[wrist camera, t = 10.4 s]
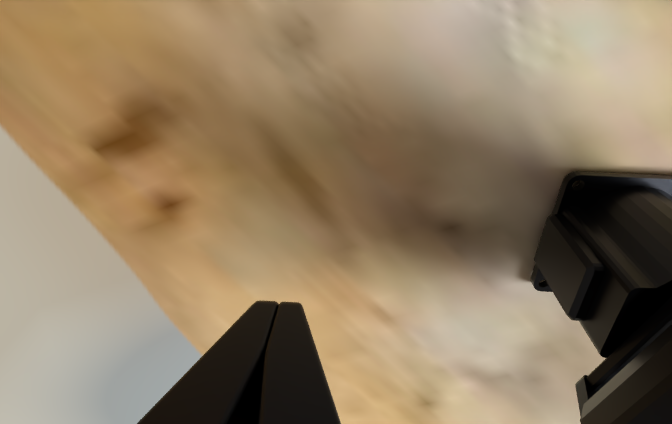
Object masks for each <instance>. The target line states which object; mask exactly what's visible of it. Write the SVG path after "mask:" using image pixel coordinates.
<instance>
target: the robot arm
mask: <svg viewBox="0 0 672 424" xmlns="http://www.w3.org/2000/svg"><path fill="white" fill-rule="evenodd" d="M577 180H580V183H579V184H578V185H576V186H573V187H572V185H573V183H574V182H575V181H577ZM534 261H535V263H536V264H535V267H534V270H533V273H532V276H531V282H532V284H533V286H534V288H535V289H536V290H538V291H547V292H553V293H554V295H555V296H556V298H557V300H558V301H559V303H560V305H561V306H562V308H563V310H564V311H565V313H566V315H567V316H568V317H569V318H570V319H571V320H576V321H579V322H580V323H581V325H582V326H583V328H584V330H585V331H586V333H587V334H588V336H589V338H590V339H591V341H592V342H593V344H594V346H595V347H596V349H597V351H598V352H599V354H600V355H601V356H602V357H605V358H606V359H605V360H604V361H603V362H602V363H601V364H600V365H599V366H598V367H597V368H596V369H595V370H594V371H593V372H592V373H590V374H589V375H584V376H583V377H582V378H581V379H580V380H579V381H578V382H577V383H576V391H577V397H578V403H579V409H580V415H581V419H580V422H581V424H672V176H670V175H649V174H628V173H607V172H586V171H575V172H571V173H569V174H568V175H567V176H566V177H565V178H564V180H563V182H562V185H561V188H560V191H559V194H558V197H557V201H556V204H555V207H554V210H553V213H552V214H551V215H550V216H549V217H548V218H547V221H546V224H545V227H544V230H543V233H542V236H541V239H540V242H539V246H538V249H537V252H536V255H535V258H534ZM541 280H545V281H543V282H540V281H541ZM137 424H341V423H340V419H339V416H338V413H337V410H336V407H335V404H334V401H333V398H332V395H331V392H330V389H329V386H328V383H327V380H326V377H325V374H324V371H323V368H322V364H321V361H320V358H319V355H318V352H317V349H316V346H315V343H314V340H313V337H312V334H311V331H310V328H309V325H308V322H307V319H306V316H305V313H304V309H303V307H302V305H301V304H300V303H297V302H281V303H280V304H278V303H277V302H275V301H256V302H255V303H254V304H253V305H252V306H251V307H250V308H249V309H248V310H247V311H246V312H245V313H244V314H243V315H242V316H241V317H240V318H239V319H238V320H237V321H236V322H235V323H234V324H233V325H232V326H231V327H230V328H229V329H228V330H227V331H226V332H225V334H224V335H223V336H222V337H221V338H220V339H219V340H218V341H217V342H216V343H215V344H214V345H213V346H212V347H211V348H210V349H209V350H208V351H207V352H206V353H205V354H204V355H203V356H202V357H201V358H200V359H199V360H198V361H197V362H196V363H195V364H194V366H192V368H191V369H190V370H189V371H188V372H187V373H186V374H185V375H184V376H183V377H182V378H181V379H180V380H179V381H178V382H177V383H176V384H175V385H174V386H173V387H172V388H171V389H170V390H169V391H168V392H167V393H166V394H165V395H164V396H163V398H161V399H160V400H159V401H158V402H157V403H156V405H155V406H154V407H153V408H152V409H151V410H150V411H149V412H148V413H147V414H146V415H145V416H144V417H143V418H142V419H141V420H140V421H139V422H138V423H137Z"/></svg>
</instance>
